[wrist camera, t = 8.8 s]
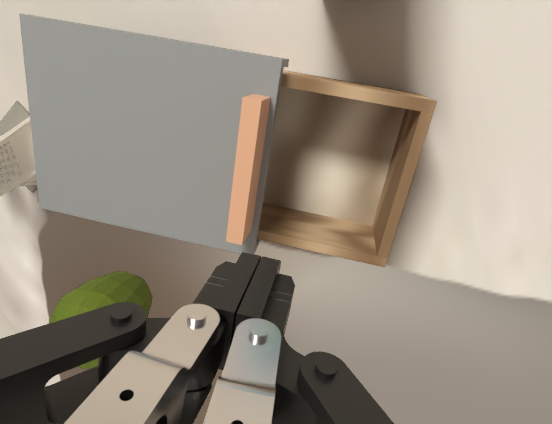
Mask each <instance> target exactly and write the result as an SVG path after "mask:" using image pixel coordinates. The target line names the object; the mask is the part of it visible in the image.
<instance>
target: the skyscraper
mask: <svg viewBox="0 0 552 424" xmlns="http://www.w3.org/2000/svg"><path fill="white" fill-rule="evenodd" d="M17 186H26V187H27V188H28V189H29V190H30V191H31V192H33V191H34V190H35V189H36V188H37V180H36V170H35V160H34V151H33V141H32V131H31V121H30V114H29V112H28V111H27V110H26V109H25V108H24V107H23V106H22V105H21V104H20V103H19V102H18V101H16V102H15V104H14V105H13V106H12V107H11V109H10V110H9V111H8V113H7V114H6V115H5V116H4V118H3V119H2V120H1V121H0V196H1V195H3V194H5V193H7V192H9V191H10V190H12V189H14V188H16V187H17Z"/></svg>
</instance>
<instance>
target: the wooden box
mask: <svg viewBox="0 0 552 424" xmlns="http://www.w3.org/2000/svg"><path fill="white" fill-rule="evenodd" d="M436 103H437V101H434V100H432V99H430V98H427V97H425V96H422V95H420V94H416V93H410V92H404V91H399V90H393V89H387V88H382V87H376V86H370V85H364V84H359V83H353V82H347V81H342V80H336V79H330V78H324V77H319V76H313V75H307V74H301V73H296V72H290V71H284V70H283V74H282V80H281V87H280V93H279V100H278V106H277V113H276V119H275V126H274V132H273V139H272V145H271V152H270V159H269V165H268V172H267V178H266V185H265V191H264V198H263V204H262V211H261V217H260V224H259V230H258V237H257V239H260V240H265V241H269V242H274V243H278V244H283V245H287V246H292V247H296V248H301V249H305V250H310V251H314V252H319V253H323V254H328V255H332V256H337V257H341V258H346V259H350V260H355V261H359V262H364V263H368V264H373V265H377V266H382V267H385V264H386V261H387V258H388V255H389V251H390V248H391V245H392V242H393V239H394V236H395V232H396V229H397V226H398V223H399V220H400V217H401V213H402V210H403V207H404V204H405V201H406V198H407V194H408V191H409V188H410V185H411V182H412V179H413V175H414V172H415V169H416V166H417V163H418V160H419V156H420V153H421V150H422V147H423V144H424V141H425V138H426V134H427V131H428V128H429V125H430V122H431V119H432V115H433V112H434V109H435V106H436Z"/></svg>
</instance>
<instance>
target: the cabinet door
mask: <svg viewBox="0 0 552 424" xmlns="http://www.w3.org/2000/svg"><path fill="white" fill-rule="evenodd" d="M19 15H20V24H21V34H22V44H23V54H24V63H25V73H26V83H27V92H28V102H29V112H30V121H31V131H32V141H33V151H34V160H35V170H36V180H37V189H38V199H39V208H42V209H46V210H51V211H55V212H60V213H64V214H68V215H73V216H77V217H81V218H86V219H90V220H95V221H99V222H103V223H108V224H112V225H116V226H121V227H125V228H129V229H134V230H138V231H142V232H148V233H152V234H156V235H160V236H164V237H169V238H174V239H178V240H182V241H186V242H191V243H195V244H199V245H204V246H209V247H213V248H217V249H221V250H226V251H230V252H235V253H239V254H242V252H245V253H249V254H253V255H254V252H255V251H256V248H257V246H258V244H259V242H260V239H257V237H258V230H259V224H260V217H261V211H262V204H263V198H264V191H265V185H266V178H267V172H268V165H269V159H270V152H271V145H272V139H273V132H274V126H275V119H276V113H277V106H278V100H279V93H280V87H281V80H282V74H283V67H288V62H289V59H284V58H278V57H272V56H266V55H261V54H255V53H249V52H243V51H237V50H231V49H226V48H220V47H214V46H208V45H202V44H196V43H191V42H185V41H179V40H173V39H167V38H162V37H156V36H150V35H144V34H138V33H132V32H127V31H121V30H115V29H109V28H103V27H97V26H92V25H86V24H80V23H74V22H68V21H62V20H57V19H51V18H44V17H38V16H32V15H25V14H19Z"/></svg>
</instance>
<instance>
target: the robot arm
mask: <svg viewBox="0 0 552 424" xmlns="http://www.w3.org/2000/svg"><path fill="white" fill-rule="evenodd" d="M280 265H281V261H280V260H275V259H271V258H267V257H262V258H261V256H258V255H253V254H249V253H245V252H242V254H241V255H240V257H239V259H238V261H237V263H236V264H235V263H231V262H224V263H223V264H221V265H219V266H217V267H216V268H215V270H214V272H213V273H212V275H211V277H210V278H209V279H208V281H207V283H206V284H205V286H204V287H203V288H202V290H201V292H200V293H199V295H198V296H197V298H196V299H195V301H194V302H193V304H190V305H186V306H184V307H182V308H180V309H179V310H178V311H176V313H175V314H174V315H173V316H172V317H171V318H146V311H145V309H144V308H143V307H141V306H140V305H138V304H135V303H131V302H119V303H114V304H111V305H108V306H104V307H101V308H98V309H95V310H91V311H88V312H85V313H82V314H79V315H75V316H72V317H69V318H66V319H63V320H59V321H56V322H53V323H50V324H47V325H43V326H40V327H37V328H34V329H31V330H27V331H24V332H21V333H18V334H14V335H11V336H8V337H5V338H2V339H0V424H193V423H194V421H195V419H196V417H197V415H198V413H199V412H200V410H201V408H202V406H203V404H204V402H205V400H206V398H207V396H208V394H209V392H210V391H211V388H212V382H213V379H214V377H215V375H216V373H217V370H218V369H222V370H223V373H222V376H221V377H218V380H217V382H216V385H215V388H214V392H213V395H212V398H211V401H210V404H209V408H208V410H207V414H206V417H205V420H204V423H203V424H394V423H393V422H392V421H391V420H390V418H389V417H388V416H387V415H386V413H385V412H384V411H383V410H382V409H381V407H380V406H379V405H378V404H377V402H376V401H375V400H374V399H373V398H372V396H371V395H370V394H369V393H368V392H367V390H366V389H365V388H364V387H363V385H362V384H361V383H360V382H359V380H358V379H357V378H356V377H355V376H354V374H353V373H352V372H351V371H350V369H349V368H348V367H347V366H346V365H345V363H344V362H343V361H342V360H340V359H339V358H338V357H336V356H334V355H332V354H329V353H325V352H312V353H309V354H308V355H306V356H303V355H301V354H299V353H298V352H296V351H295V350H293V349H292V348H291V347H290V346H289V345H288V343H287V342H286V340H285V337H284V333H285V329H286V325H287V321H288V316H289V311H290V307H291V302H292V297H293V292H294V287H295V285H294V282H293V280H292V277H291V276H287V275H282V274H279V270H280ZM97 358H98V366H97V367H94V368H92V369H89V370H87V371H84V372H82V373H79V374H77V375H75V376H72V377H70V378H67V379H65V380H62V381H60V382H57V383H55V384H52V385H50V386H46V387H45V385H46V383H47V382H48V381H49V380H50V379H51V378H52V377H54V376H55V375H57V374H60V373H62V372H64V371H67V370H70V369H72V368H75V367H77V366H80V365H82V364H85V363H87V362H90V361H92V360H95V359H97Z"/></svg>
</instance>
